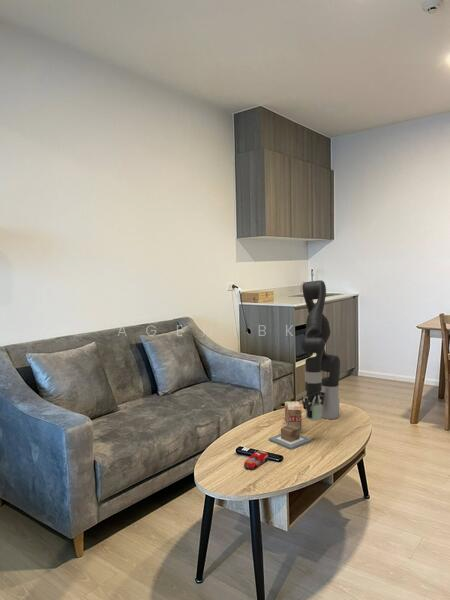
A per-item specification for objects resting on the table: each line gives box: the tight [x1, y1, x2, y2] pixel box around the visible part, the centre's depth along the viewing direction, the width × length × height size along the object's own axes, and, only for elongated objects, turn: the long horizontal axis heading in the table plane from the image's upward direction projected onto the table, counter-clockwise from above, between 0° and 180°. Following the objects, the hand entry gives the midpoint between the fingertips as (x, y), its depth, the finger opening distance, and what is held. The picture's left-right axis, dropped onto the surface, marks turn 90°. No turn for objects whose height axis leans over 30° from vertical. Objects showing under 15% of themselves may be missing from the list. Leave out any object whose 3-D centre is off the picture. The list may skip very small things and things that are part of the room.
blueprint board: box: [268, 425, 313, 451], centre depth 201 cm, size 14×14×6 cm
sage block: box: [305, 402, 323, 422], centre depth 202 cm, size 5×5×7 cm
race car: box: [243, 450, 269, 470], centre depth 179 cm, size 13×5×4 cm, turn 141°
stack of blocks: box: [284, 401, 303, 434], centre depth 220 cm, size 21×6×12 cm, turn 177°
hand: (313, 416), depth 203 cm, fingers closed on sage block, 5 cm apart
